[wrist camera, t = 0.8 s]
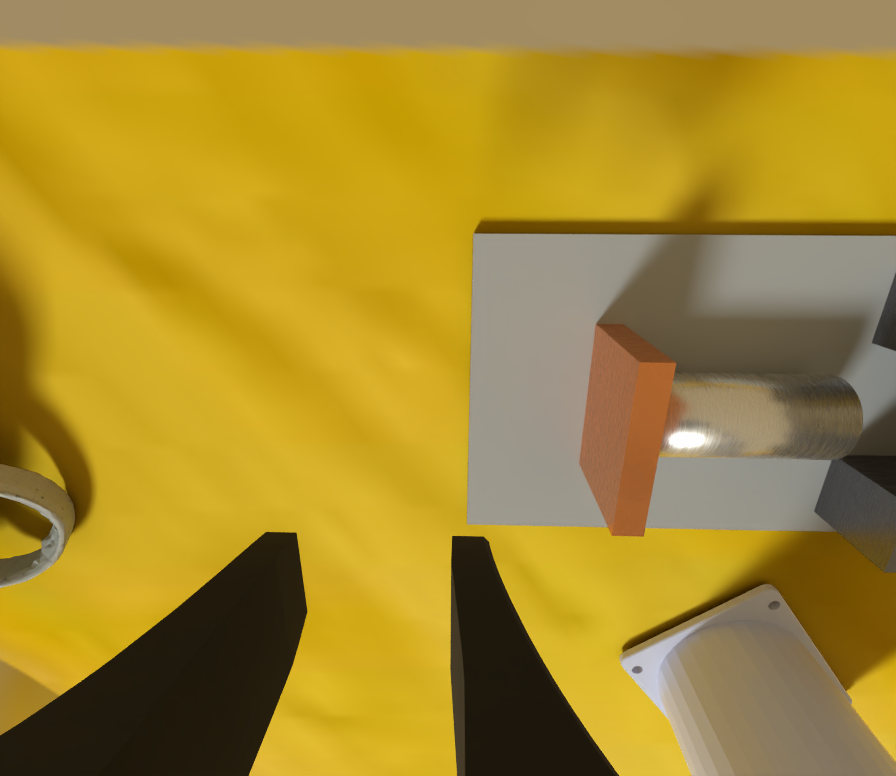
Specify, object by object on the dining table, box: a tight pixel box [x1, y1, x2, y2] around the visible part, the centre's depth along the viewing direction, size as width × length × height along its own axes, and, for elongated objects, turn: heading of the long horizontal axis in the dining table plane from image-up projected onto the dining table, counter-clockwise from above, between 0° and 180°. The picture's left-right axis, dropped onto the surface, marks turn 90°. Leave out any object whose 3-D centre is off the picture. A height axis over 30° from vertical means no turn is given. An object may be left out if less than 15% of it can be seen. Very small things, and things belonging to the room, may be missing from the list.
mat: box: [467, 233, 896, 532], centre depth 18 cm, size 22×12×1 cm, turn 90°
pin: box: [579, 324, 863, 536], centre depth 16 cm, size 8×6×4 cm
